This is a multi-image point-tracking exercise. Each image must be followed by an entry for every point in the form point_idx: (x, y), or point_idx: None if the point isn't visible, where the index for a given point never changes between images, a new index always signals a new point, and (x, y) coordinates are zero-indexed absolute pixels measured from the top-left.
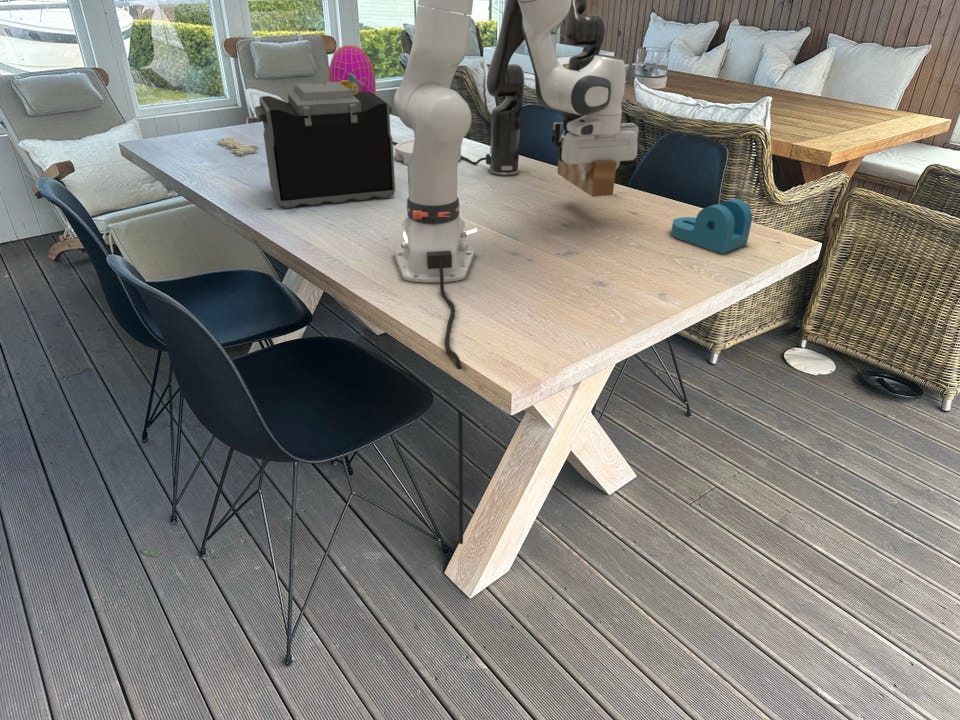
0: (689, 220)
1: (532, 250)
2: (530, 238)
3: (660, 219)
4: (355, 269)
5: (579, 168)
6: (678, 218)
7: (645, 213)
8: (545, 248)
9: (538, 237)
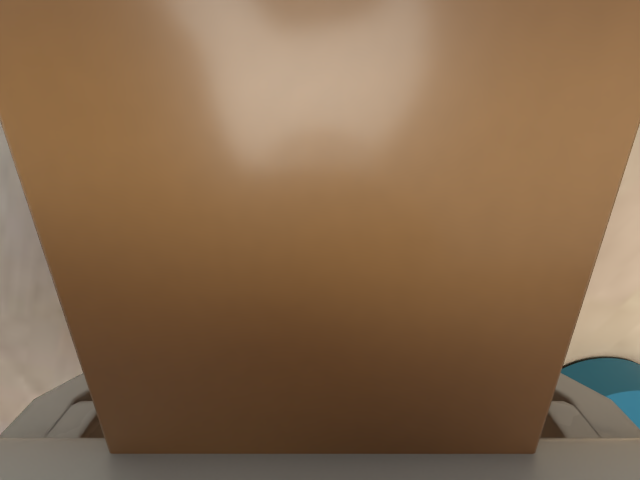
0: (636, 421)
1: (10, 389)
2: (11, 298)
3: (628, 247)
4: None
5: (77, 383)
6: (617, 395)
7: (636, 154)
8: (57, 386)
9: (44, 297)
